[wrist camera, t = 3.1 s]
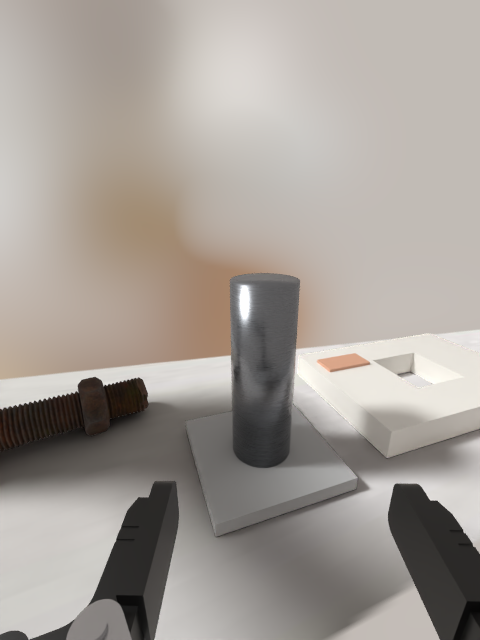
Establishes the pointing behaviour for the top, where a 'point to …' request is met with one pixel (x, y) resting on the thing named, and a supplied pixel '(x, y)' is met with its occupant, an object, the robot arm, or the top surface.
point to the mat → (263, 473)
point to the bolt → (72, 411)
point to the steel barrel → (263, 365)
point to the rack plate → (399, 389)
